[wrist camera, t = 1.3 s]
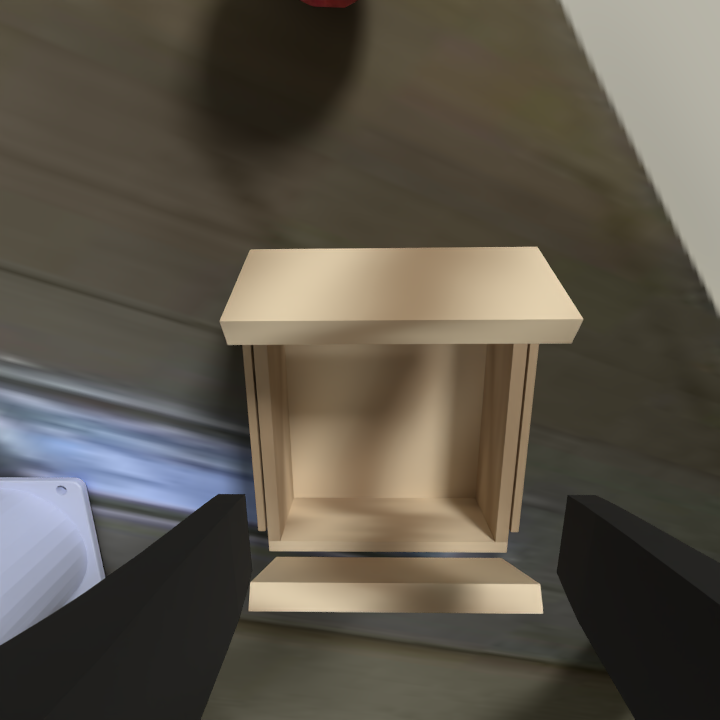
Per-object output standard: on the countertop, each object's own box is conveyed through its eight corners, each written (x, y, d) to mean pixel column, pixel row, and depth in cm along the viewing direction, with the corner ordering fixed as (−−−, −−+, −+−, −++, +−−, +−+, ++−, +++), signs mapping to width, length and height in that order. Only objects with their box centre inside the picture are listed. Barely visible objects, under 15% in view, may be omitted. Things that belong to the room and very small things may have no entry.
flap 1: (227, 344, 10) (219, 321, 10) (255, 271, 13) (250, 249, 12) (571, 343, 10) (583, 319, 10) (529, 269, 13) (537, 247, 12)
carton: (278, 501, 20) (260, 551, 17) (261, 259, 17) (234, 259, 14) (490, 502, 20) (516, 552, 16) (511, 257, 17) (548, 256, 13)
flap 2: (276, 556, 16) (275, 578, 15) (250, 582, 12) (248, 611, 12) (501, 557, 15) (503, 580, 15) (540, 584, 12) (543, 613, 12)
